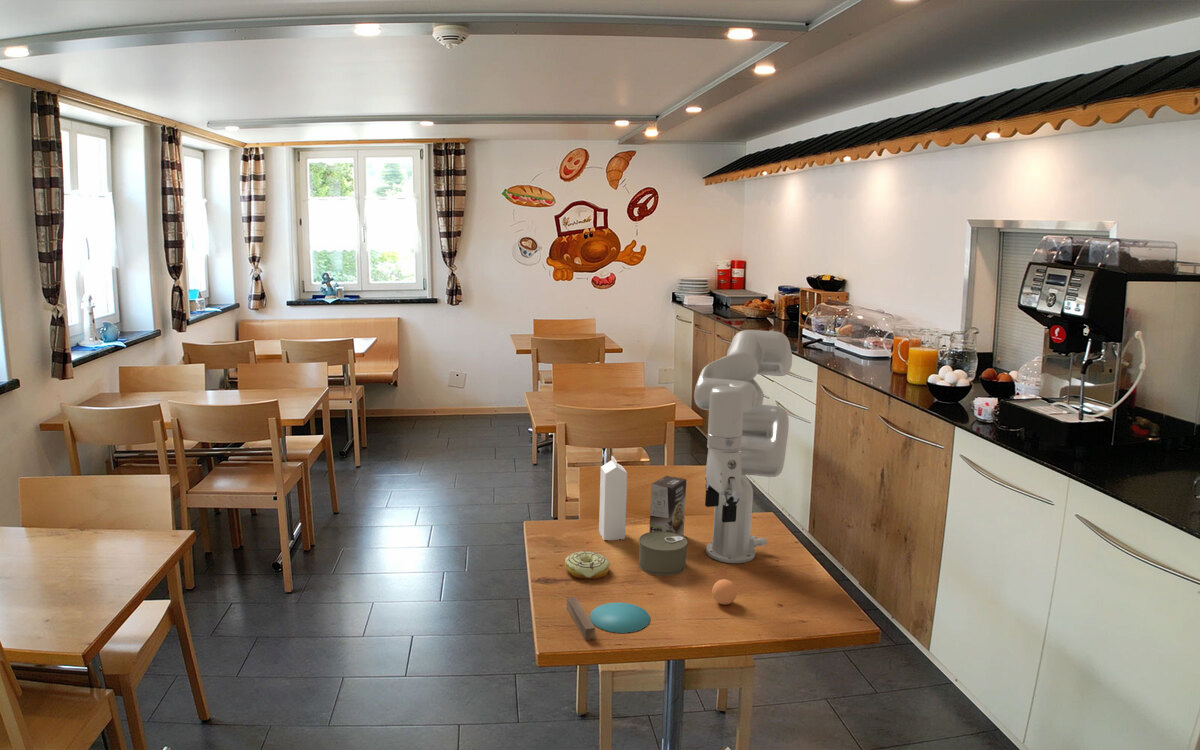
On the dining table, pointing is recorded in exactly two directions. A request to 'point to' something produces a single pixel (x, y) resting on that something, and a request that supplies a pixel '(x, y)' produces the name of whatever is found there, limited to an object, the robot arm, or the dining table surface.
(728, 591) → the ball
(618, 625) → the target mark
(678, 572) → the can
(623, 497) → the milk
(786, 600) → the dining table surface
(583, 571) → the decorated donut
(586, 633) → the rail
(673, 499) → the coffee box
